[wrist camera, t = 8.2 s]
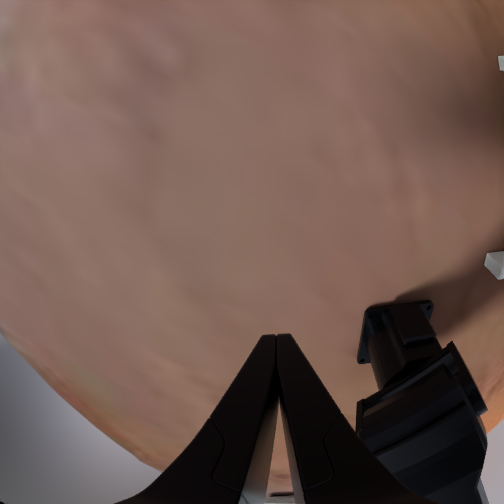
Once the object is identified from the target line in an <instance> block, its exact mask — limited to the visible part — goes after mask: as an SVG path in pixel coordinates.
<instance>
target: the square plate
mask: <svg viewBox="0 0 504 504" xmlns="http://www.w3.org/2000/svg"><path fill="white" fill-rule="evenodd" d="M264 504H295V498H294V495H289V496H274V497H269V498H266V499H265V503H264Z"/></svg>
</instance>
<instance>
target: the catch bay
mask: <svg viewBox="0 0 504 504" xmlns="http://www.w3.org/2000/svg"><path fill="white" fill-rule="evenodd" d="M498 60H499V68H500V70H501V71H504V56H498ZM484 266H485V267H486V268H487V269H488V270H489V271H490V272H491V273H492V274H493V275H494V276H495V277H496V278H497V279H498V280H500V279H504V251H500V252H491V253H487V255H486V259H485V263H484Z"/></svg>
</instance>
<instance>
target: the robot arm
mask: <svg viewBox="0 0 504 504" xmlns="http://www.w3.org/2000/svg"><path fill="white" fill-rule="evenodd" d="M427 306H428V307H427ZM433 307H434V304H433V303H432V301H431V300H426V301H419V302H413V303H405V304H398V305H390V306H382V307H374V308H368V309H367V310H366V311H365V313H364V318H363V325H362V331H361V337H360V343H359V349H358V354H357V362H358V363H359V364H366V363H371V365H372V368H373V372H374V375H375V379H376V382H377V386H378V389H379V391H378V392H376V393H374V394H373V395H371V396H369V397H367V398H366V399H362V400H360V401H358V402H357V411H356V430H355V431H354V430H353V428H352V427H351V425H350V424H349V423H348V421H347V420H346V418H345V417H344V415H343V414H342V413H341V411H340V409H339V408H338V406H337V405H336V403H335V401H334V400H333V398H332V397H331V395H330V394H329V392H328V391H327V389H326V388H325V386H324V385H323V383H322V382H321V380H320V378H319V377H318V375H317V374H316V372H315V371H314V369H313V368H312V366H311V365H310V363H309V361H308V360H307V358H306V357H305V355H304V354H303V352H302V351H301V349H300V347H299V346H298V344H297V343H296V341H295V340H294V338H293V337H292V335H291V334H289V333H286V334H278V335H277V336H276V335H275V334H269V335H262V336H261V338H260V339H259V341H258V343H257V344H256V346H255V347H254V349H253V351H252V352H251V354H250V355H249V357H248V359H247V360H246V362H245V363H244V365H243V366H242V368H241V370H240V371H239V373H238V374H237V376H236V377H235V379H234V380H233V382H232V384H231V385H230V387H229V388H228V390H227V391H226V393H225V394H224V396H223V397H222V399H221V400H220V402H219V403H218V405H217V406H216V408H215V409H214V411H213V412H212V414H211V415H210V418H208V419H207V421H206V422H205V424H204V425H203V427H202V428H201V430H200V431H199V432H198V434H197V435H196V436H195V438H194V439H193V440H192V441H191V443H190V444H189V445H188V446H187V447H186V448H185V449H184V451H183V452H182V453H181V454H180V455H179V456H178V457H177V458H176V459H175V460H174V461H173V462H172V463H171V464H170V465H169V467H168V468H167V469H166V470H165V471H164V472H163V473H162V474H161V475H160V476H159V477H158V478H157V479H156V480H155V481H154V482H153V483H152V484H151V485H149V486H148V487H147V488H146V489H144V490H143V491H141V492H140V493H138V494H137V495H135V496H133V497H130V498H128V499H125V500H123V501H120V502H117V503H115V504H264V503H265V497H266V491H267V485H268V479H269V472H270V466H271V459H272V452H273V445H274V438H275V430H276V423H277V415H278V406H279V402H280V410H281V416H282V423H283V429H284V435H285V441H286V448H287V454H288V460H289V467H290V473H291V479H292V486H293V492H294V498H295V504H489V502H488V499H487V496H486V493H485V490H484V487H483V484H482V481H481V478H480V476H481V472H482V469H483V464H484V459H485V455H486V450H487V436H486V430H485V426H484V424H483V422H482V419H481V417H480V415H482V414H483V413H485V412H486V411H487V410H488V409H487V407H486V404H485V402H484V400H483V398H482V395H481V393H480V391H479V389H478V387H477V385H476V383H475V381H474V379H473V377H472V375H471V373H470V371H469V369H468V367H467V365H466V364H465V362H464V360H463V358H462V356H461V355H460V353H459V351H458V350H457V348H456V346H455V344H454V343H453V341H451V342H450V343H448V344H447V346H446V347H445V348H444V349H442V347H441V346H440V344H439V342H438V340H437V338H436V333H435V331H434V330H433V328H432V326H431V324H430V322H429V321H430V317H431V314H432V311H433ZM371 313H372V314H371ZM369 314H371V315H369ZM0 504H7V503H5V502H3V501H2V500H0Z"/></svg>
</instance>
